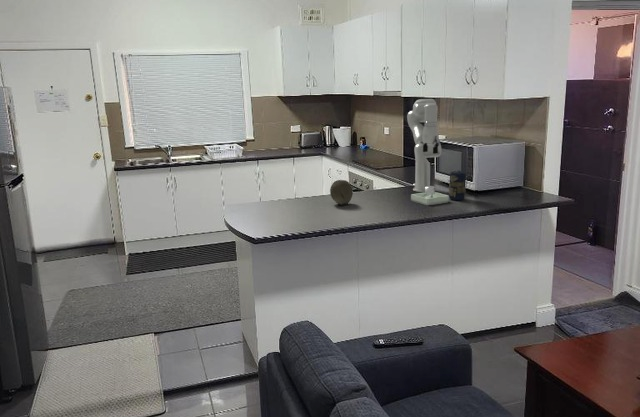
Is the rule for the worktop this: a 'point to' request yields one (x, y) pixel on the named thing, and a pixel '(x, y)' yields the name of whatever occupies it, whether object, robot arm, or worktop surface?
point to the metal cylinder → (429, 191)
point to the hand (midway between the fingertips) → (430, 152)
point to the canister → (457, 185)
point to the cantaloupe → (341, 192)
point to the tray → (429, 199)
